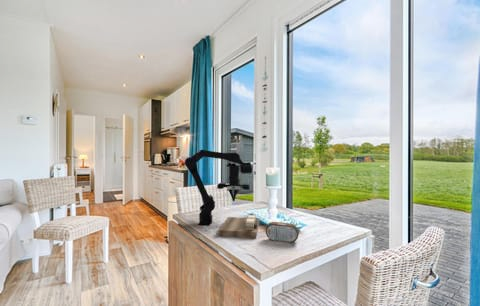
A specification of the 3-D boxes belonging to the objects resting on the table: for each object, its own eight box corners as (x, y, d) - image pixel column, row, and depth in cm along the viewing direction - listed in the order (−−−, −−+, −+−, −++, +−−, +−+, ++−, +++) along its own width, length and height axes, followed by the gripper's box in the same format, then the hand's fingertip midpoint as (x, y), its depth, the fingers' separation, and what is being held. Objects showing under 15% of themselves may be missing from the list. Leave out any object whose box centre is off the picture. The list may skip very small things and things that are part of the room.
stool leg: (253, 230, 113) (253, 221, 113) (245, 229, 114) (245, 221, 114) (255, 220, 129) (255, 213, 129) (249, 220, 129) (249, 212, 129)
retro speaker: (298, 241, 108) (298, 223, 108) (298, 244, 105) (298, 225, 105) (266, 238, 112) (266, 220, 112) (265, 240, 109) (265, 222, 109)
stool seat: (218, 236, 114) (218, 226, 114) (228, 222, 136) (228, 213, 136) (256, 238, 111) (256, 228, 111) (259, 223, 133) (259, 215, 133)
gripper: (251, 173, 143) (251, 198, 143) (221, 172, 146) (221, 197, 146) (249, 175, 132) (249, 202, 132) (217, 174, 135) (216, 201, 135)
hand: (233, 200), depth 137 cm, fingers closed
